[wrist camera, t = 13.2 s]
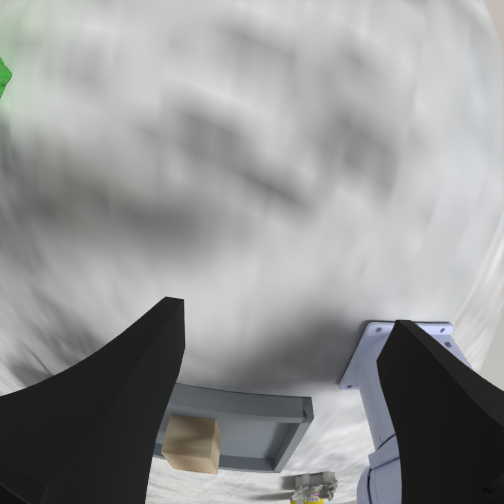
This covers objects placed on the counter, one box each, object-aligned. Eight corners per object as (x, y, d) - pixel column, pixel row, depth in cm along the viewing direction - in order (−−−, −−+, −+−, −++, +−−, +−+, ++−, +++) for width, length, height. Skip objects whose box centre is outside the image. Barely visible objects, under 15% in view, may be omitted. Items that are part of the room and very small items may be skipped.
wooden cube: (215, 419, 26) (210, 458, 21) (221, 439, 28) (217, 474, 23) (170, 414, 26) (160, 452, 21) (180, 435, 28) (173, 468, 23)
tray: (311, 397, 24) (314, 417, 22) (279, 458, 31) (279, 473, 29) (110, 367, 24) (101, 385, 22) (137, 437, 31) (132, 451, 28)
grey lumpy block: (329, 484, 38) (331, 501, 35) (291, 488, 39) (292, 505, 35) (339, 467, 34) (342, 488, 30) (294, 473, 34) (295, 493, 31)
